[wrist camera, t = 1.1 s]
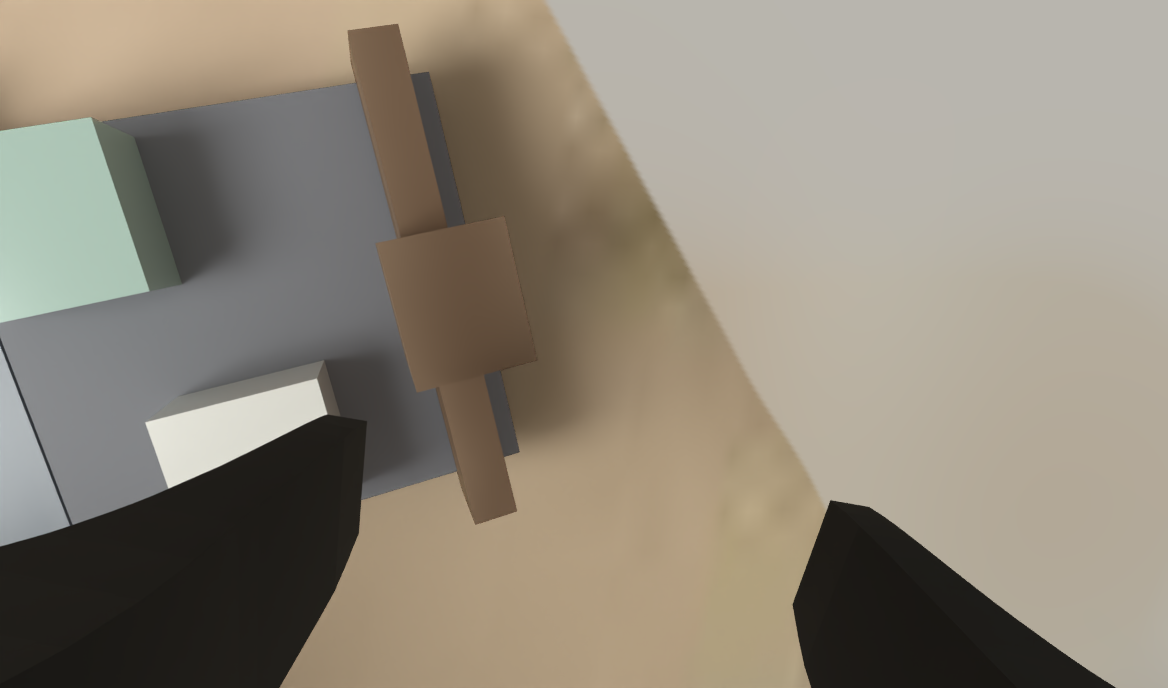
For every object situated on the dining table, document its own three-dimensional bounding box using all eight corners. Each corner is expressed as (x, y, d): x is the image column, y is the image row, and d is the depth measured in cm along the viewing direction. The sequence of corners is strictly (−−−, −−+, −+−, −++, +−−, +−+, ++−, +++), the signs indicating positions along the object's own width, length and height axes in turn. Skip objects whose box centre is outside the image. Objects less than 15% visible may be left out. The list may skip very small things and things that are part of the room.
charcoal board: (118, 551, 21) (94, 581, 20) (-29, 158, 19) (-73, 148, 17) (508, 436, 25) (519, 451, 23) (423, 86, 22) (428, 71, 20)
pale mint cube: (17, 319, 18) (-49, 333, 15) (-42, 164, 17) (-123, 149, 14) (182, 284, 19) (149, 291, 16) (134, 137, 18) (90, 116, 16)
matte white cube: (221, 525, 20) (197, 571, 17) (178, 396, 20) (145, 422, 17) (360, 484, 21) (359, 520, 18) (324, 360, 21) (316, 378, 18)
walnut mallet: (441, 495, 22) (475, 615, 15) (326, 65, 19) (302, -40, 12) (517, 471, 22) (586, 575, 15) (416, 52, 20) (443, -55, 13)
